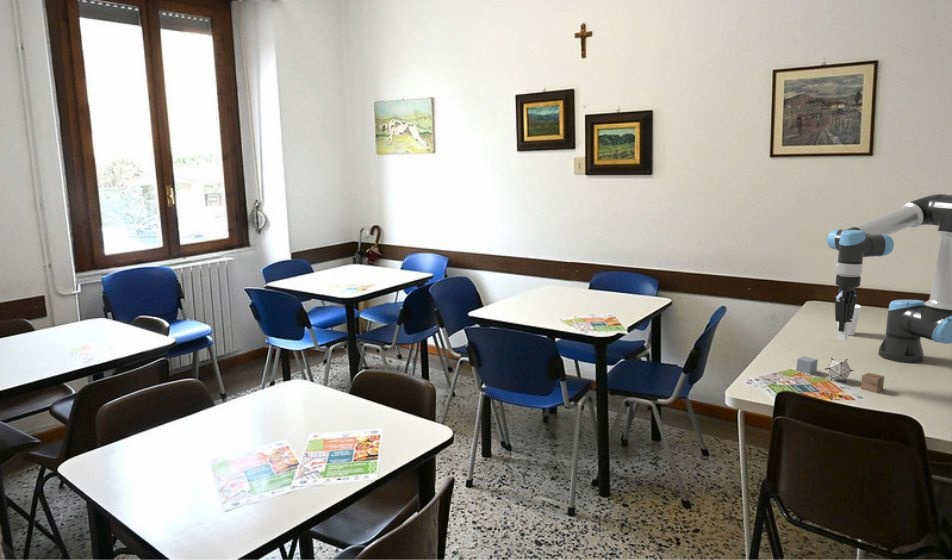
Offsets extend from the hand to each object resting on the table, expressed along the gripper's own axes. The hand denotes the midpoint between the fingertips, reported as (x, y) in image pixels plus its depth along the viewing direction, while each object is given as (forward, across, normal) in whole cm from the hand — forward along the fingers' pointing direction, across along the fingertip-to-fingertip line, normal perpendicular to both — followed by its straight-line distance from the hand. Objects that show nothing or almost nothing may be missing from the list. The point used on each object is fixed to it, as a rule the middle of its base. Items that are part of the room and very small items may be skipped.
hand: (841, 339), depth 233 cm
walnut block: (+15, 0, +12) cm, 19 cm away
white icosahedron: (+15, 0, 0) cm, 15 cm away
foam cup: (+15, -63, -27) cm, 70 cm away
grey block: (+15, 0, -12) cm, 19 cm away
